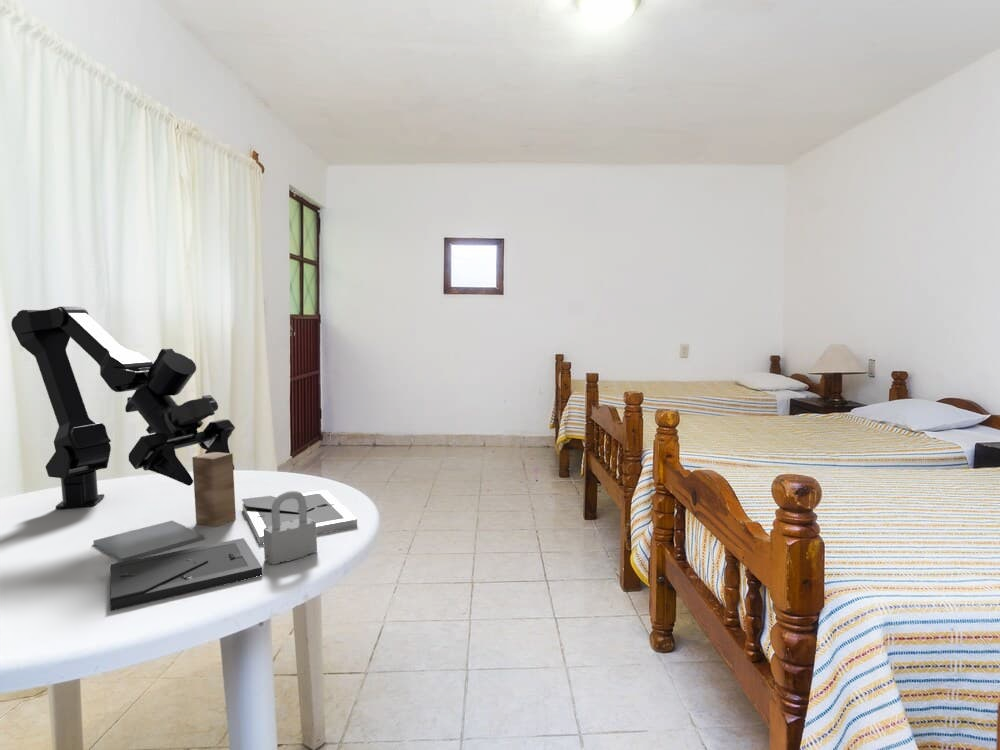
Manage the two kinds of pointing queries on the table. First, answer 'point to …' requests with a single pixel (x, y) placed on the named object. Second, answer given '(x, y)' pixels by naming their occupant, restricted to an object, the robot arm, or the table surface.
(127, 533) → the coaster
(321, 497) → the picture frame
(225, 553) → the picture frame
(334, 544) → the table surface
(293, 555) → the padlock
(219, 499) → the block
